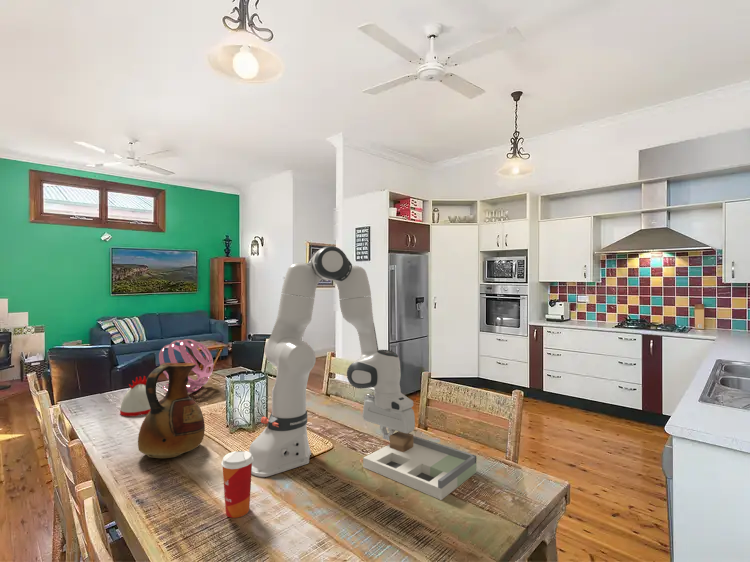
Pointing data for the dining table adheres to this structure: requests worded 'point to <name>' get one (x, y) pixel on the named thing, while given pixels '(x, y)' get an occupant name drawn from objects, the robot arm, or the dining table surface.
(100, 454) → the dining table surface
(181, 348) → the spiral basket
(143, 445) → the ceramic pitcher
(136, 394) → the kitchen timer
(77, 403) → the dining table surface
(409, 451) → the tray
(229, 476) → the paper cup
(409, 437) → the walnut block
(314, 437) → the dining table surface
